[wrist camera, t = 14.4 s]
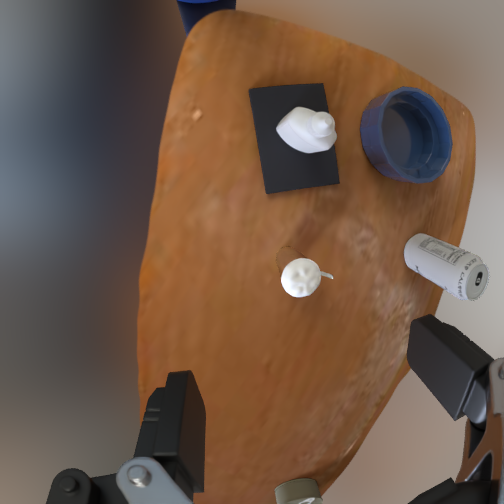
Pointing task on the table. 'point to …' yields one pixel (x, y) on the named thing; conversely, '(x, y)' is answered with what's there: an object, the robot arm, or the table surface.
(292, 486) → the can
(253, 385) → the table surface
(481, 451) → the robot arm
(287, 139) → the eye dropper bottle
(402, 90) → the bowl
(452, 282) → the energy drink can
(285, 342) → the table surface
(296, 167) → the mat
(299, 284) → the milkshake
